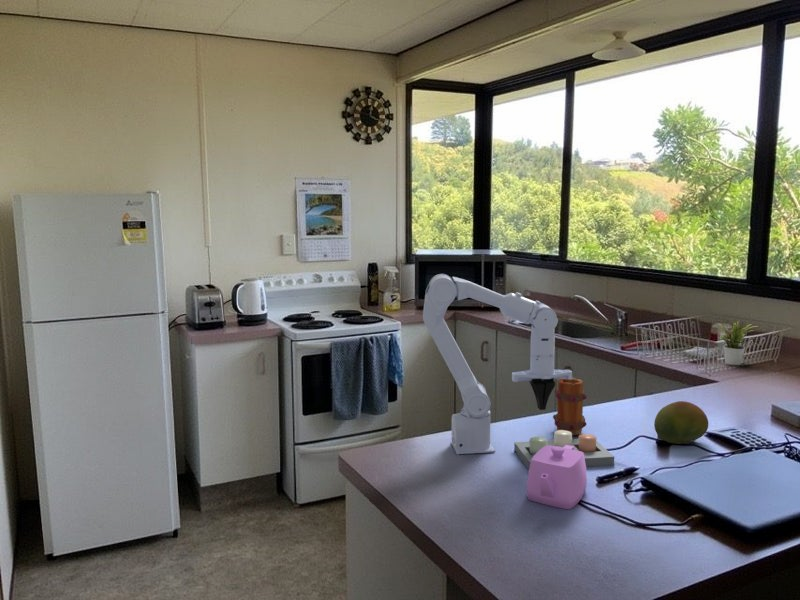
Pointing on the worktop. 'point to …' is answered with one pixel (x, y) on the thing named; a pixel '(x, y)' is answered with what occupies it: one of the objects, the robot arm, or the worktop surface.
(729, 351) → the house plant
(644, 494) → the worktop surface
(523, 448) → the panel
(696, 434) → the fruit
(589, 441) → the button terracotta
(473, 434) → the robot arm
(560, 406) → the mug
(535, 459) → the teapot
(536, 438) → the button sage
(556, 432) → the button cream
